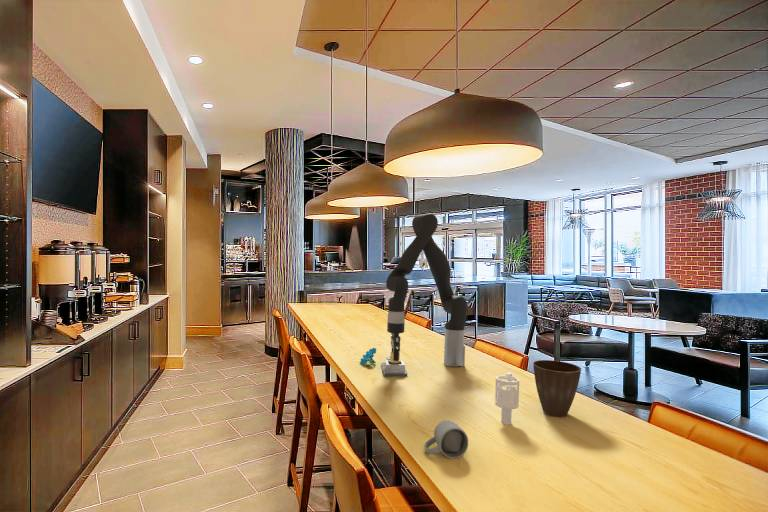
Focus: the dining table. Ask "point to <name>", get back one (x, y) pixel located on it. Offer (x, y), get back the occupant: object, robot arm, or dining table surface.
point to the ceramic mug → (448, 440)
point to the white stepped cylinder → (507, 396)
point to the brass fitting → (393, 360)
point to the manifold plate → (393, 368)
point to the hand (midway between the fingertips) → (394, 358)
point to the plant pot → (556, 385)
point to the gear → (369, 357)
